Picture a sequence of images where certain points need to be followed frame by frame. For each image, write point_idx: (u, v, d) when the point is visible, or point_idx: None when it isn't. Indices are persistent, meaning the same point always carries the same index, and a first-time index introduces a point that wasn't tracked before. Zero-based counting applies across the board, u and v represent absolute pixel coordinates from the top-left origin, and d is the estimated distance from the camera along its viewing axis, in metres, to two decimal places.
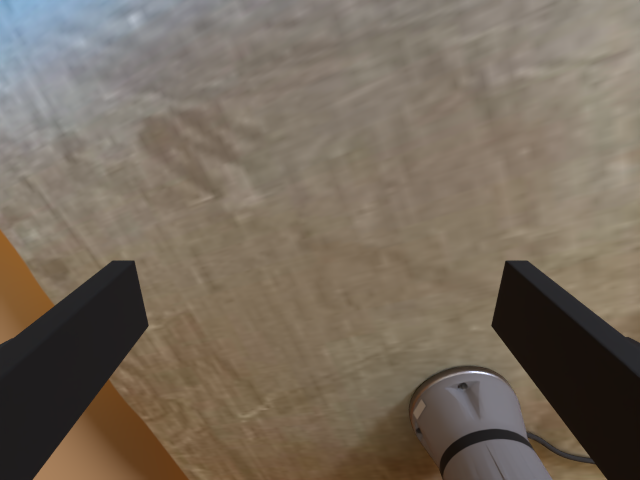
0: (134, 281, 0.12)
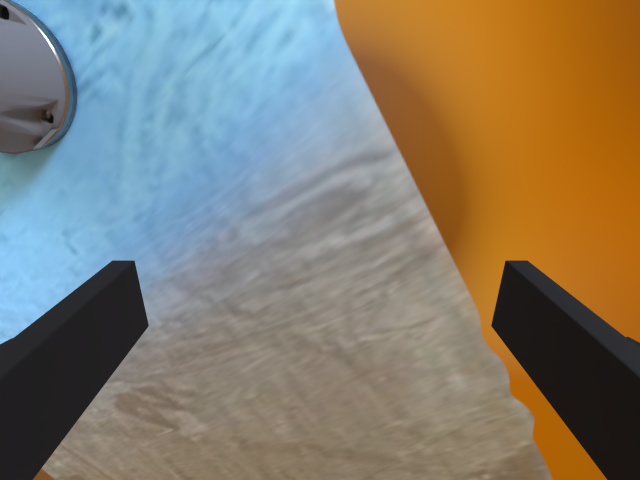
0: (134, 281, 0.12)
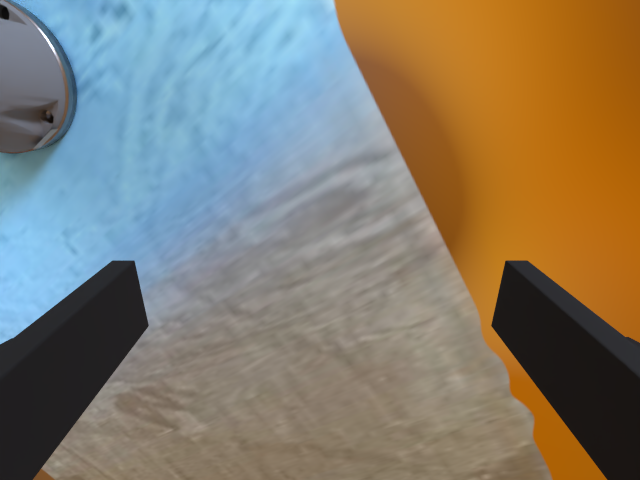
0: (134, 281, 0.12)
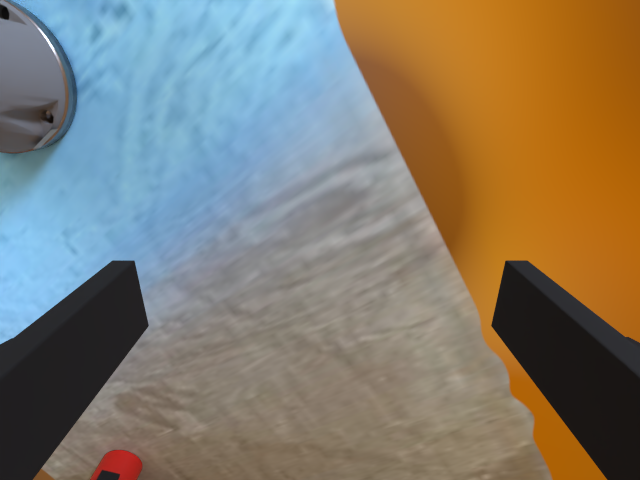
0: (134, 281, 0.12)
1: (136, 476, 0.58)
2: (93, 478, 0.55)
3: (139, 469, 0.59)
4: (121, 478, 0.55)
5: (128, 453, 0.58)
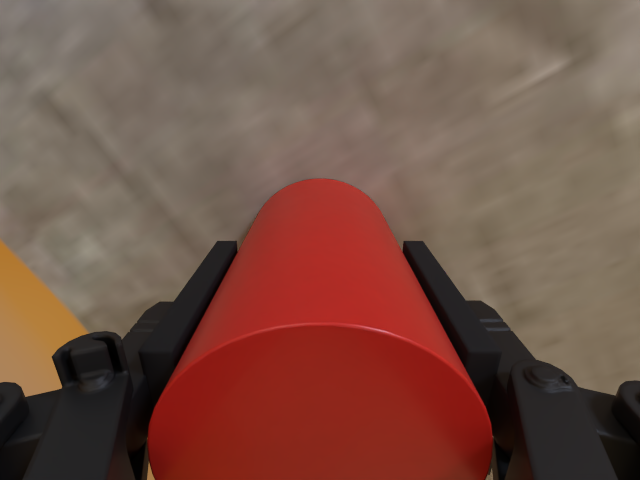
0: None
1: None
2: (271, 219, 0.12)
3: None
4: (389, 232, 0.12)
5: (358, 190, 0.15)
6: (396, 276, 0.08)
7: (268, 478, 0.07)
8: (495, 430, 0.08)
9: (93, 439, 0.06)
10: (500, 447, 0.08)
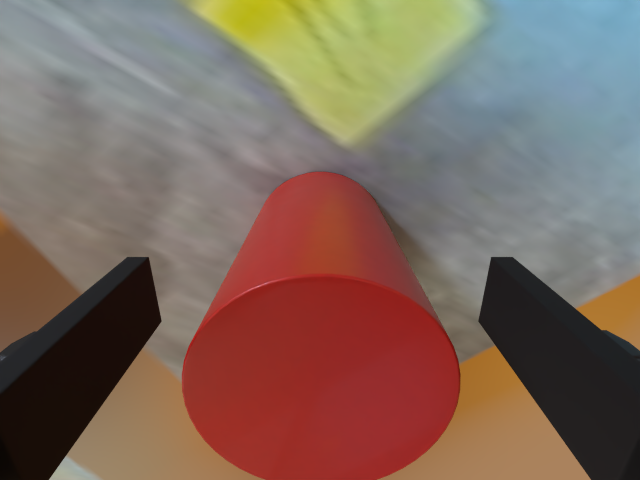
0: (148, 277, 0.12)
1: None
2: (277, 205, 0.13)
3: None
4: (381, 217, 0.14)
5: (355, 182, 0.17)
6: (384, 247, 0.10)
7: (279, 408, 0.08)
8: None
9: None
10: None
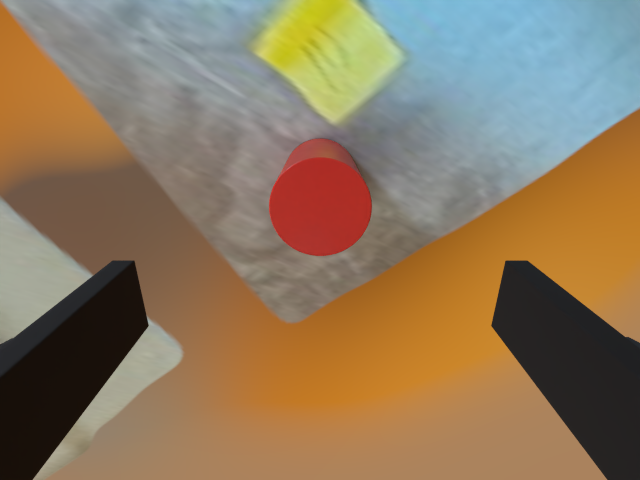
0: (134, 281, 0.12)
1: None
2: (299, 150, 0.27)
3: None
4: (350, 157, 0.28)
5: (339, 144, 0.31)
6: (346, 159, 0.24)
7: (304, 214, 0.23)
8: None
9: None
10: None
